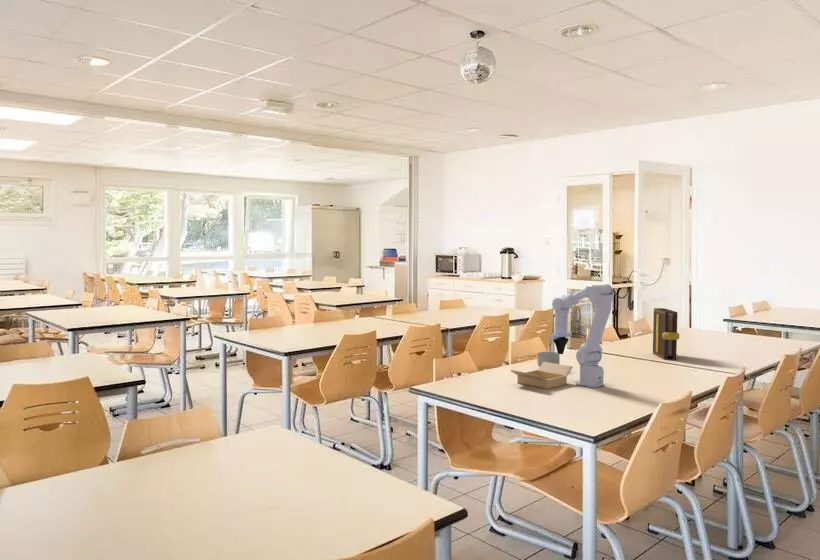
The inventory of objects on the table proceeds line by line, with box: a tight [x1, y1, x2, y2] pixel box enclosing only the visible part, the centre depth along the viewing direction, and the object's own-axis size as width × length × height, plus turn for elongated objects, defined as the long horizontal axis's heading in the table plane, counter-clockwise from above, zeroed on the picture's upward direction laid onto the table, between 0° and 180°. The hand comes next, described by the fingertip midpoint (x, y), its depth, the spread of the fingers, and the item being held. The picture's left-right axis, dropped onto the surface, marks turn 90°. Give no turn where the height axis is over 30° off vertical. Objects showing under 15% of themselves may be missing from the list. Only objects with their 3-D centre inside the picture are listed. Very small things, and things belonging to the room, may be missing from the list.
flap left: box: [510, 369, 547, 381], centre depth 266 cm, size 15×6×1 cm, turn 41°
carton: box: [517, 369, 568, 391], centre depth 272 cm, size 16×13×4 cm
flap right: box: [537, 362, 573, 377], centre depth 278 cm, size 15×6×1 cm
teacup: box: [536, 350, 561, 368], centre depth 306 cm, size 14×11×8 cm
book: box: [652, 307, 680, 361], centre depth 336 cm, size 22×8×25 cm, turn 178°
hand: (560, 353), depth 287 cm, fingers closed
